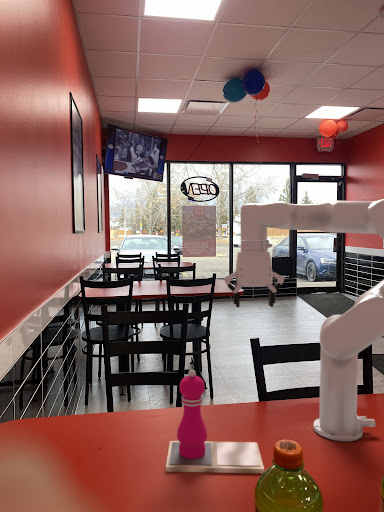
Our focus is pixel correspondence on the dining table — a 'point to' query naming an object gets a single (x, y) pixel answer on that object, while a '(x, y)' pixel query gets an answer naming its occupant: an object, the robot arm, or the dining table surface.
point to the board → (218, 458)
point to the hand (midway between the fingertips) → (254, 306)
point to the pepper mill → (192, 418)
